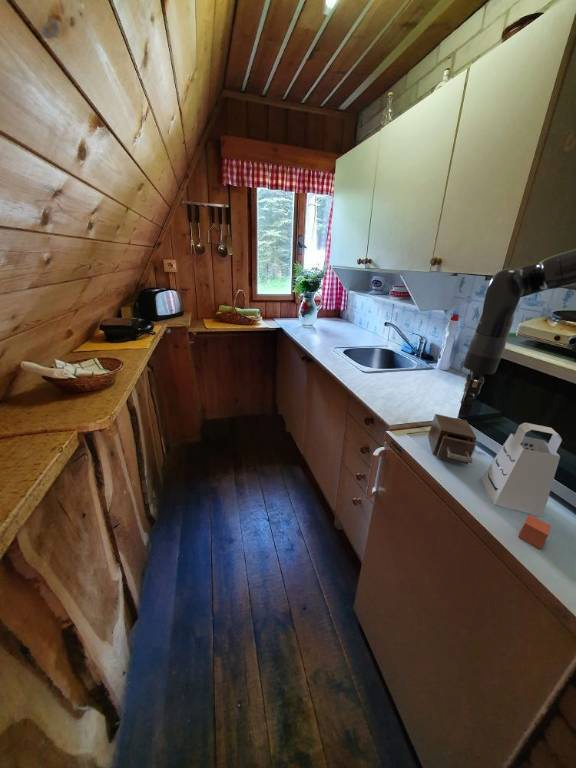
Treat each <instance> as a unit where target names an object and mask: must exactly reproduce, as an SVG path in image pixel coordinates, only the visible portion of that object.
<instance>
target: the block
mask: <svg viewBox="0 0 576 768" xmlns="http://www.w3.org/2000/svg"><path fill="white" fill-rule="evenodd" d="M520 528H521V529H520V531H519V533H518V535H517V537H518V538H519V539H521V540H522V541H524V542H526V543H528V544H530V545H531V546H533V547H535V548H537V549H538V550H542V547H543V546H544V544H545V543H546V540H547V539H548V537H549V535H550V531H551V528H552V525H551V524H549V523H547V522H545V521H543V520H541V519H539V518H537V517H535V516H534V515H532V514H528V515H527V517H526V519H525V520H524V523H523V524H522V526H521V527H520Z"/></svg>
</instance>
